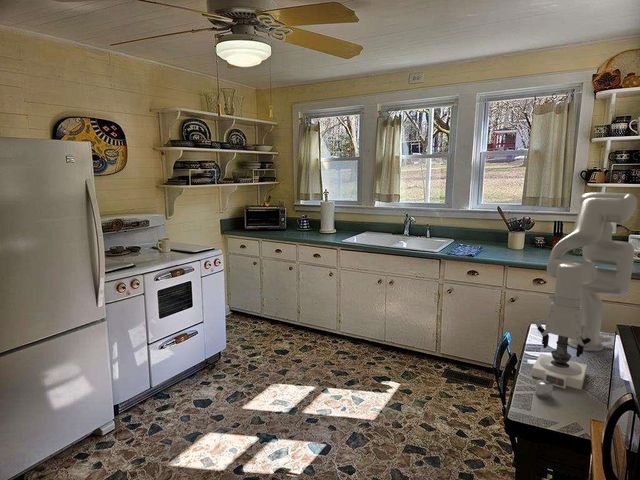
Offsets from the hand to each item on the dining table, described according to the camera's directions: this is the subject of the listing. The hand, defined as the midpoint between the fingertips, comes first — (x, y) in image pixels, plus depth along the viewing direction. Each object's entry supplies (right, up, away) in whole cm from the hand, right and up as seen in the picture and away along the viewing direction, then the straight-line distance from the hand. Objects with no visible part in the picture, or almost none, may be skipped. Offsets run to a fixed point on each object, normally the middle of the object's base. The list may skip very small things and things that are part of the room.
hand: (561, 351), depth 134 cm
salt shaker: (0, -5, +1) cm, 5 cm away
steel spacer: (-13, -10, -12) cm, 20 cm away
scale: (-1, -8, 0) cm, 8 cm away
